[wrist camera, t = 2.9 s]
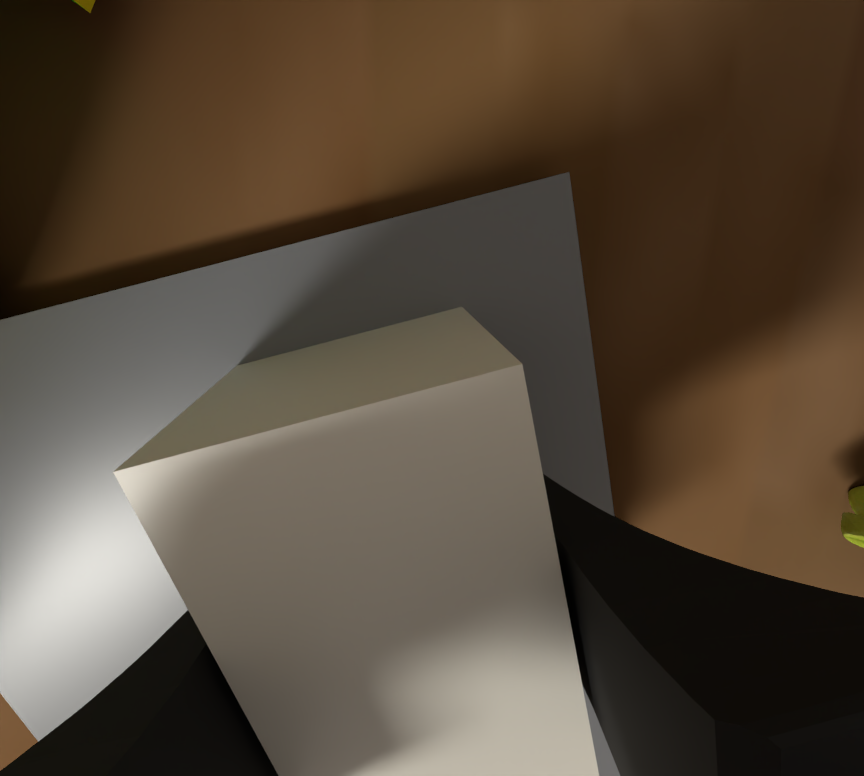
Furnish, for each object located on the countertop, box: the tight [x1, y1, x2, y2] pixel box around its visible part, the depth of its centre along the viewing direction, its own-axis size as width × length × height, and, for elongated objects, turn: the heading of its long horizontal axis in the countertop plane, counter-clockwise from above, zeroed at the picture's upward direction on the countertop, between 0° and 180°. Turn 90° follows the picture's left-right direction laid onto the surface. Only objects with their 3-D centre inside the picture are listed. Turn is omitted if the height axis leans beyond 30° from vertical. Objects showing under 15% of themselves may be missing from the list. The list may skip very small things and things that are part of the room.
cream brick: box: [113, 307, 599, 776], centre depth 9 cm, size 5×9×4 cm, turn 14°
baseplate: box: [0, 172, 620, 776], centre depth 14 cm, size 16×30×1 cm, turn 14°
